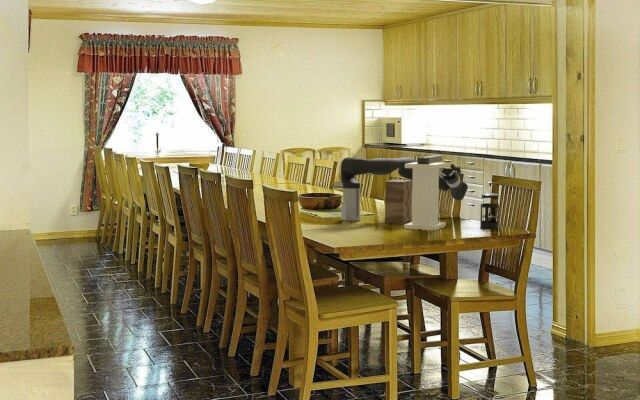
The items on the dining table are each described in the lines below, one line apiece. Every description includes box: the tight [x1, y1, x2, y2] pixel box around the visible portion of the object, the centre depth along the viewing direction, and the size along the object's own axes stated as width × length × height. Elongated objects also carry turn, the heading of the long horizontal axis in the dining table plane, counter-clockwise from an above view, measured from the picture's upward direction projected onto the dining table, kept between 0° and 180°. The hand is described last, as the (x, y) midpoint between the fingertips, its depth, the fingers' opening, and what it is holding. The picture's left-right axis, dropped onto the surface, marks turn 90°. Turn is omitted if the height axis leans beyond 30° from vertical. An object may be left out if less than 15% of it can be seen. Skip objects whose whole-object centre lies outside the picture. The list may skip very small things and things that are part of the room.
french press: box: [479, 181, 500, 230], centre depth 412 cm, size 12×9×23 cm
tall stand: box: [403, 162, 448, 232], centre depth 415 cm, size 16×16×32 cm
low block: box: [384, 179, 413, 225], centre depth 437 cm, size 12×10×22 cm
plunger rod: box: [416, 154, 443, 164], centre depth 419 cm, size 26×6×3 cm, turn 152°
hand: (443, 164), depth 438 cm, fingers open, 8 cm apart
